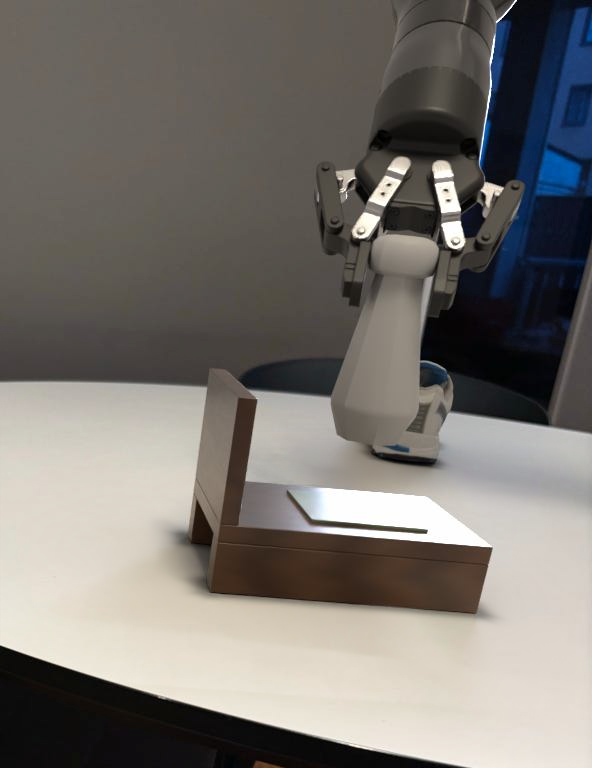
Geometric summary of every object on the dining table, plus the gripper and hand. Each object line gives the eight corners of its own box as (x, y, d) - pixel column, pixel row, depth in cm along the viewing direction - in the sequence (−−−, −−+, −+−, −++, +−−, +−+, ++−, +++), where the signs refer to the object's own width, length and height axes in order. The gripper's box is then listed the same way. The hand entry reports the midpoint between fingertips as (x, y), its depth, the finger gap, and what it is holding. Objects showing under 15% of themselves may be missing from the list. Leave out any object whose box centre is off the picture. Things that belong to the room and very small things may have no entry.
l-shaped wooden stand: (414, 553, 79) (450, 391, 75) (476, 613, 67) (524, 423, 63) (187, 535, 78) (209, 367, 73) (210, 592, 66) (238, 396, 61)
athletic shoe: (431, 432, 134) (428, 339, 129) (471, 472, 113) (470, 363, 108) (353, 441, 135) (348, 350, 131) (379, 483, 114) (374, 376, 110)
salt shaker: (319, 426, 72) (355, 230, 67) (400, 435, 72) (441, 240, 67) (331, 442, 67) (371, 231, 62) (418, 452, 67) (464, 241, 62)
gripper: (332, 54, 68) (285, 245, 62) (553, 71, 66) (528, 272, 59) (322, 148, 75) (280, 329, 69) (522, 167, 72) (497, 357, 66)
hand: (395, 301), depth 64 cm, fingers closed on salt shaker, 4 cm apart
